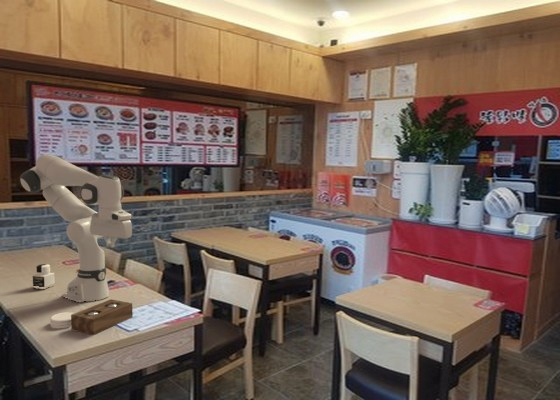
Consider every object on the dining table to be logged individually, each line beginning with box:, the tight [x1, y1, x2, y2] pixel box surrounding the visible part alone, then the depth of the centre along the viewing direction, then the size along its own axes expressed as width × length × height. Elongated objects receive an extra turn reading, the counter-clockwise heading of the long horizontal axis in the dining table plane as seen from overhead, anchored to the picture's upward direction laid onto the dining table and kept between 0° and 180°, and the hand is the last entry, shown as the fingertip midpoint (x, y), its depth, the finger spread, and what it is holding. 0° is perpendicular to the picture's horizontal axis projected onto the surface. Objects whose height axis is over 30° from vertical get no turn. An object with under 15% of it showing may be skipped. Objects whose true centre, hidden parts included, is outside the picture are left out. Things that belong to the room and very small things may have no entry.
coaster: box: [49, 311, 76, 330], centre depth 167 cm, size 10×10×4 cm
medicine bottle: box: [32, 263, 56, 287], centre depth 214 cm, size 7×7×12 cm
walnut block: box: [71, 299, 133, 336], centre depth 168 cm, size 12×20×6 cm, turn 156°
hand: (110, 246), depth 172 cm, fingers closed
